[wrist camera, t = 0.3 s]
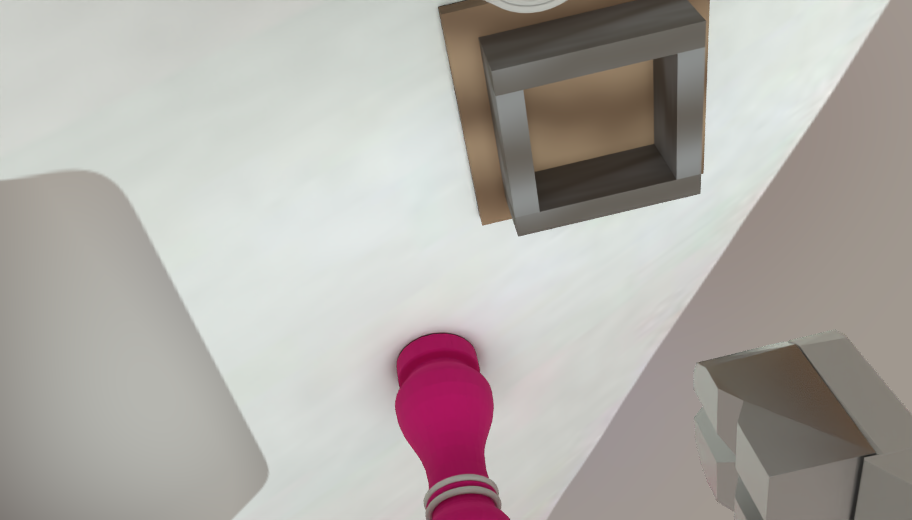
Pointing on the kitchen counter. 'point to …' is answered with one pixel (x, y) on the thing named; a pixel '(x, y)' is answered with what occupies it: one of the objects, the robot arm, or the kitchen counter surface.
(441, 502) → the pepper mill
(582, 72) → the collar plate
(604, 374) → the kitchen counter surface
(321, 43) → the kitchen counter surface
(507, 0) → the beverage can
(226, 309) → the kitchen counter surface
